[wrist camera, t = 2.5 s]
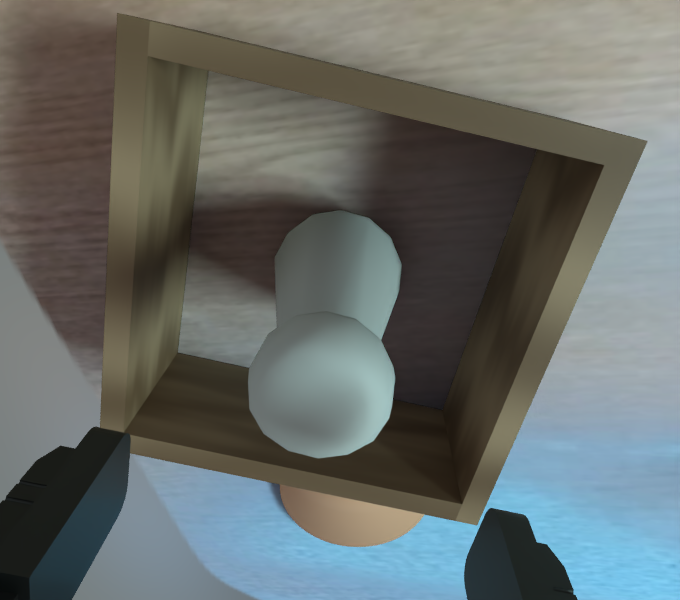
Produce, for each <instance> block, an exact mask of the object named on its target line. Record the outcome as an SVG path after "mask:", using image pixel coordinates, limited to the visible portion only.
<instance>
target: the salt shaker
mask: <svg viewBox="0 0 680 600" xmlns="http://www.w3.org/2000/svg"><path fill="white" fill-rule="evenodd" d="M401 268H402V264H401V261H400V259H399V256H398V254H397V252H396V249H395V247H394V244H393V242H392V239H391V238H390V236H389V235H388V234H387V233H386V232H384V231H383V230H382V229H381V228H380V227H379V226H378V225H376V224H375V223H374V222H373V221H372V220H371V219H370V218H368V217H365V216H361V215H358V214H354V213H350V212H346V211H343V210H338V211H332V212H326V213H319V214H313V215H311V216H310V217H309V218H307V219H306V220H305V221H303V222H302V223H301V224H299V225H298V226H297V227H295V228H294V229H293V230H291V231H290V232H289V233H288V234H287V235H286V237H285V239H284V241H283V243H282V245H281V247H280V248H279V250H278V252H277V254H276V256H275V284H276V316H277V328H276V329H275V330H273V331H272V332H270V333H269V334H268V335H267V337H266V339H265V341H264V343H263V344H262V346H261V348H260V350H259V352H258V353H257V355H256V357H255V359H254V361H253V362H252V364H251V366H250V368H249V376H248V391H249V409H250V411H251V413H252V415H253V416H254V418H255V420H256V422H257V423H258V425H259V427H260V429H261V430H262V432H263V434H265V435H266V436H267V437H269V438H270V439H272V440H273V441H275V442H276V443H278V444H279V445H280V446H282V447H283V448H285V449H286V450H288V451H291V452H295V453H299V454H303V455H307V456H310V457H314V458H325V457H333V456H341V455H348V454H350V453H352V452H354V451H356V450H358V449H359V448H361V447H363V446H365V445H367V444H369V443H371V442H373V441H374V440H375V438H376V437H377V435H378V434H379V432H380V431H381V429H382V428H383V427H384V425H385V424H386V422H387V421H388V419H389V417H390V413H391V409H392V403H393V393H394V384H395V374H394V368H393V365H392V363H391V361H390V358H389V356H388V354H387V352H386V350H385V348H384V346H383V343H382V341H381V339H382V336H383V334H384V331H385V328H386V326H387V323H388V320H389V317H390V315H391V312H392V309H393V307H394V304H395V301H396V299H397V296H398V293H399V289H400V278H401Z"/></svg>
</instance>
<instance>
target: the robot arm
mask: <svg viewBox="0 0 680 600" xmlns="http://www.w3.org/2000/svg"><path fill="white" fill-rule="evenodd" d="M130 445H131V437H130V434H129V433H124V432H119V431H114V430H109V429H104V428H99V427H93V428H92V429H91V430H90V431H89V432H88V433H87V434H86V435H85V437H84V438H83V439H82V441H81V442H80V443H79V445H78V446H77V447H76V448H75V449H74V448H69V447H64V446H59V447H58V448H56V449H55V450H53V451H52V452H50V453H48V454H46V455H45V456H43V457H41V458H40V459H38V460H37V461H36V462H35V463H34V464H33V466H32V467H31V468H30V469H29V470H28V471H27V472H26V474H25V475H24V476H23V477H22V478H21V480H20V482H19V484H16V485H15V486H14V488H13V489H12V490H11V491H10V492H9V494H8V495H7V496H6V499H5V501H2V502H1V503H0V600H72V598H73V596H74V595H75V593H76V591H77V589H78V587H79V586H80V584H81V582H82V580H83V578H84V577H85V575H86V573H87V571H88V569H89V568H90V566H91V564H92V562H93V561H94V559H95V557H96V555H97V553H98V552H99V550H100V548H101V546H102V544H103V543H104V541H105V539H106V537H107V535H108V534H109V532H110V530H111V528H112V526H113V525H114V523H115V521H116V519H117V517H118V515H119V513H120V511H121V509H122V506H123V503H124V500H125V496H126V492H127V486H128V472H129V458H130ZM464 581H465V589H466V594H467V599H468V600H577V597H576V595H574V594H573V591H574V590H573V588H572V585H571V583H570V580H569V578H568V575H567V573H566V570H565V568H564V566H563V565H562V563H561V562H560V561H559V560H558V558H557V557H556V556H555V554H554V553H553V552H552V551H551V549H550V548H549V547H548V545H547V544H542V543H537V542H536V539H535V537H534V534H533V531H532V528H531V526H530V523H529V521H528V519H527V517H526V516H525V515H523V514H518V513H513V512H508V511H503V510H498V509H493V508H490V509H489V510H488V511H487V512H486V514H485V516H484V519H483V521H482V523H481V525H480V528H479V530H478V532H477V535H476V537H475V539H474V542H473V544H472V546H471V548H470V551H469V553H468V556H467V559H466V563H465V571H464Z"/></svg>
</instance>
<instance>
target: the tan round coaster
mask: <svg viewBox="0 0 680 600" xmlns="http://www.w3.org/2000/svg"><path fill="white" fill-rule="evenodd" d="M280 494H281V499H282V502H283V504H284V507H285V509H286V510H287V512H288V514H289V515H290V516H291V518H292V519H293V520H294V521H295V522H296V523H297V524H298V525H299V526H300V527H301V528H302V529H304V530H305V531H306V532H308V533H310V534H311V535H313V536H315V537H317V538H319V539H321V540H324V541H326V542H329V543H333V544H337V545H342V546H350V547H367V546H374V545H379V544H383V543H386V542H389V541H392V540H394V539H396V538H399V537H401V536H402V535H404V534H405V533H407V532H408V531H410V530H411V529H412V528H413V527H415V525H416V524H417V523H418V522H419V521H420V520H421V518H422V517H423V516H424V514H420V513H415V512H410V511H406V510H401V509H396V508H391V507H386V506H382V505H377V504H372V503H367V502H362V501H357V500H353V499H348V498H343V497H338V496H333V495H329V494H324V493H319V492H314V491H309V490H305V489H300V488H295V487H290V486H285V485H281V484H280Z"/></svg>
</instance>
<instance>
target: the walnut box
mask: <svg viewBox="0 0 680 600" xmlns="http://www.w3.org/2000/svg"><path fill="white" fill-rule="evenodd" d="M208 71H212V72H217V73H221V74H225V75H229V76H233V77H238V78H242V79H246V80H250V81H254V82H258V83H263V84H267V85H271V86H275V87H279V88H284V89H288V90H292V91H296V92H300V93H305V94H309V95H313V96H317V97H321V98H325V99H330V100H334V101H338V102H342V103H346V104H351V105H355V106H359V107H363V108H367V109H372V110H376V111H380V112H384V113H388V114H392V115H397V116H401V117H405V118H409V119H413V120H418V121H422V122H426V123H430V124H434V125H439V126H443V127H447V128H451V129H455V130H459V131H464V132H468V133H472V134H476V135H480V136H485V137H489V138H493V139H497V140H501V141H506V142H510V143H514V144H518V145H522V146H526V147H531V148H535V149H537V151H536V154H535V156H534V159H533V162H532V165H531V167H530V170H529V173H528V176H527V178H526V181H525V184H524V187H523V189H522V192H521V195H520V198H519V200H518V203H517V206H516V209H515V211H514V214H513V217H512V220H511V222H510V225H509V228H508V231H507V233H506V236H505V239H504V242H503V244H502V247H501V250H500V253H499V255H498V258H497V261H496V264H495V266H494V269H493V272H492V275H491V277H490V280H489V283H488V286H487V288H486V291H485V294H484V297H483V299H482V302H481V305H480V308H479V310H478V313H477V316H476V319H475V321H474V324H473V327H472V330H471V332H470V335H469V338H468V341H467V343H466V346H465V349H464V352H463V354H462V357H461V360H460V363H459V365H458V368H457V371H456V374H455V376H454V379H453V382H452V385H451V388H450V390H449V393H448V396H447V399H446V401H445V404H444V407H443V410H439V409H435V408H430V407H425V406H421V405H416V404H412V403H407V402H402V401H398V400H393V403H392V409H391V413H390V417H389V419H388V421H387V422H386V424H385V425H384V427H383V428H382V429H381V431H380V432H379V434H378V435H377V437H376V438H375V440H374V441H373V442H371V443H369V444H367V445H365V446H363V447H361V448H359V449H358V450H356V451H354V452H352V453H350V454H348V455H341V456H333V457H325V458H314V457H310V456H307V455H303V454H299V453H295V452H291V451H288V450H286V449H285V448H283V447H282V446H280V445H279V444H278V443H276V442H275V441H273V440H272V439H270V438H269V437H267V436H266V435H265V434H263V432H262V430H261V429H260V427H259V425H258V423H257V422H256V420H255V418H254V416H253V415H252V413H251V411H250V409H249V391H248V376H249V368H245V367H241V366H236V365H231V364H227V363H222V362H218V361H213V360H208V359H204V358H199V357H194V356H190V355H185V354H181V353H178V345H179V335H180V326H181V317H182V308H183V299H184V289H185V280H186V271H187V262H188V252H189V243H190V234H191V225H192V216H193V206H194V197H195V188H196V179H197V170H198V160H199V151H200V142H201V133H202V123H203V114H204V105H205V96H206V87H207V77H208ZM646 143H647V141H645V140H641V139H638V138H634V137H630V136H626V135H622V134H619V133H615V132H611V131H607V130H603V129H600V128H596V127H592V126H588V125H584V124H581V123H577V122H573V121H569V120H565V119H561V118H557V117H552V116H548V115H544V114H540V113H536V112H532V111H528V110H523V109H519V108H515V107H511V106H507V105H503V104H499V103H494V102H490V101H486V100H482V99H478V98H474V97H470V96H465V95H461V94H457V93H453V92H449V91H445V90H441V89H437V88H432V87H428V86H424V85H420V84H416V83H412V82H408V81H403V80H399V79H395V78H391V77H387V76H383V75H379V74H374V73H370V72H366V71H362V70H358V69H354V68H350V67H345V66H341V65H337V64H333V63H329V62H325V61H321V60H317V59H312V58H308V57H304V56H300V55H296V54H292V53H288V52H283V51H279V50H275V49H271V48H267V47H263V46H259V45H254V44H250V43H246V42H242V41H238V40H234V39H230V38H225V37H221V36H217V35H213V34H209V33H205V32H201V31H197V30H192V29H188V28H184V27H179V26H174V25H170V24H165V23H161V22H156V21H152V20H147V19H142V18H138V17H133V16H129V15H124V14H119V13H117V35H116V59H115V83H114V107H113V131H112V154H111V178H110V202H109V226H108V250H107V273H106V297H105V321H104V345H103V369H102V392H101V416H100V417H101V418H100V420H101V421H100V428H104V429H109V430H114V431H119V432H124V433H129V434H130V437H131V445H130V453H131V454H136V455H141V456H146V457H151V458H155V459H160V460H165V461H170V462H175V463H179V464H184V465H189V466H194V467H199V468H204V469H208V470H213V471H218V472H223V473H228V474H232V475H237V476H242V477H247V478H252V479H256V480H261V481H266V482H271V483H276V484H281V485H285V486H290V487H295V488H300V489H305V490H309V491H314V492H319V493H324V494H329V495H333V496H338V497H343V498H348V499H353V500H357V501H362V502H367V503H372V504H377V505H382V506H386V507H391V508H396V509H401V510H406V511H410V512H415V513H420V514H425V515H430V516H434V517H439V518H444V519H449V520H454V521H459V522H463V523H468V524H473V525H477V524H478V522H479V520H480V517H481V515H482V513H483V511H484V508H485V506H486V504H487V502H488V499H489V497H490V495H491V493H492V490H493V488H494V486H495V484H496V481H497V479H498V477H499V475H500V472H501V470H502V468H503V466H504V463H505V461H506V459H507V457H508V454H509V452H510V450H511V448H512V445H513V443H514V441H515V439H516V436H517V434H518V432H519V430H520V427H521V425H522V423H523V421H524V418H525V416H526V414H527V412H528V409H529V407H530V405H531V403H532V400H533V398H534V396H535V393H536V391H537V389H538V387H539V384H540V382H541V380H542V378H543V375H544V373H545V371H546V369H547V366H548V364H549V362H550V360H551V357H552V355H553V353H554V351H555V348H556V346H557V344H558V342H559V339H560V337H561V335H562V333H563V330H564V328H565V326H566V324H567V321H568V319H569V317H570V315H571V312H572V310H573V308H574V306H575V303H576V301H577V299H578V297H579V294H580V292H581V290H582V288H583V285H584V283H585V281H586V279H587V276H588V274H589V272H590V270H591V267H592V265H593V263H594V261H595V258H596V256H597V254H598V252H599V249H600V247H601V245H602V243H603V240H604V238H605V236H606V234H607V231H608V229H609V227H610V225H611V222H612V220H613V218H614V216H615V213H616V211H617V209H618V207H619V204H620V202H621V200H622V198H623V195H624V193H625V191H626V189H627V186H628V184H629V182H630V180H631V177H632V175H633V173H634V171H635V168H636V166H637V164H638V161H639V159H640V157H641V155H642V152H643V150H644V148H645V146H646Z"/></svg>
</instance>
